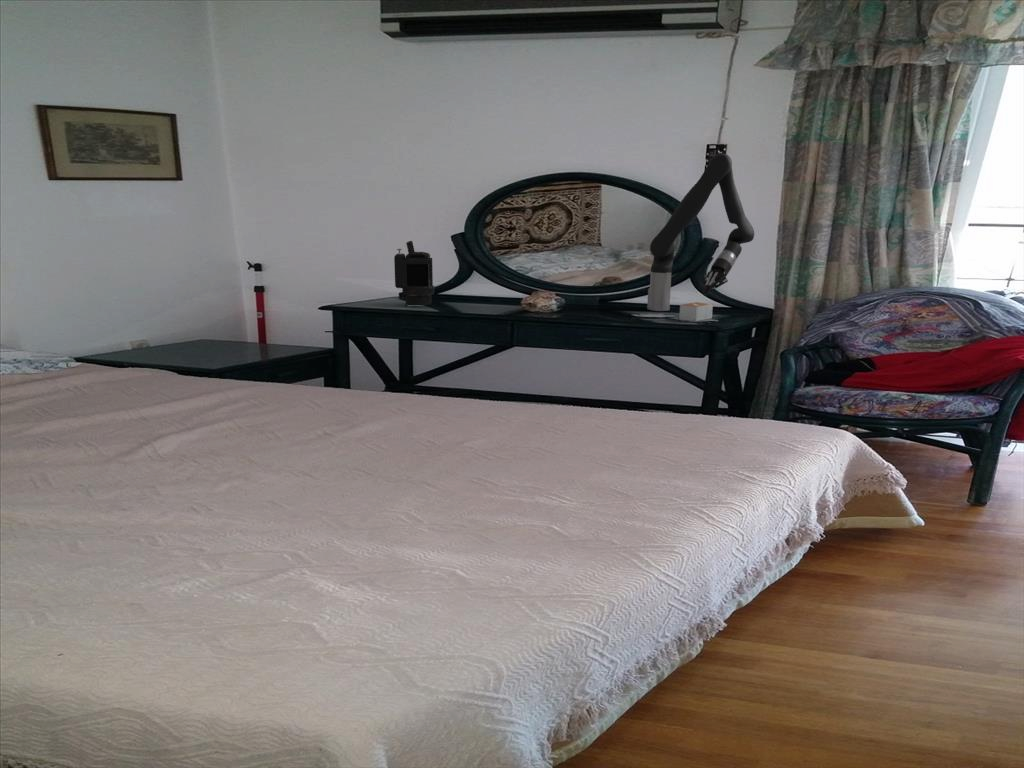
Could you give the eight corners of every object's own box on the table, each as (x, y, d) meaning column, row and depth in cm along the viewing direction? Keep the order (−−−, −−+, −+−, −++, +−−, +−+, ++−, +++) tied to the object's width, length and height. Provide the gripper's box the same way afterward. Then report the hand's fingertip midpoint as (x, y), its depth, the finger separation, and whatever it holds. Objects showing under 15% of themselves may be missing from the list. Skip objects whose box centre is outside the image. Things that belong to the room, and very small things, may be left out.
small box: (713, 303, 311) (697, 306, 302) (712, 318, 312) (696, 321, 303) (695, 301, 316) (679, 304, 307) (694, 316, 318) (678, 319, 308)
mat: (664, 318, 314) (664, 317, 314) (683, 316, 321) (683, 315, 321) (699, 323, 300) (699, 322, 300) (718, 321, 308) (718, 320, 308)
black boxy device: (434, 307, 345) (433, 241, 339) (395, 307, 344) (393, 241, 337) (435, 303, 360) (434, 240, 353) (398, 303, 359) (396, 240, 352)
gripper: (707, 256, 320) (688, 286, 316) (733, 258, 310) (713, 289, 306) (714, 268, 325) (695, 298, 320) (740, 270, 315) (720, 301, 310)
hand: (704, 293), depth 313 cm, fingers closed
